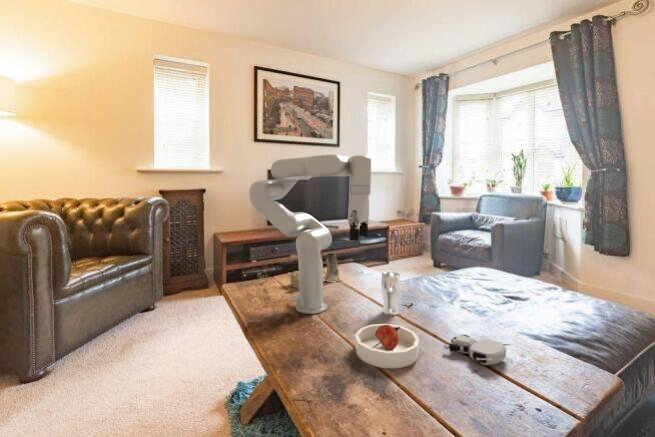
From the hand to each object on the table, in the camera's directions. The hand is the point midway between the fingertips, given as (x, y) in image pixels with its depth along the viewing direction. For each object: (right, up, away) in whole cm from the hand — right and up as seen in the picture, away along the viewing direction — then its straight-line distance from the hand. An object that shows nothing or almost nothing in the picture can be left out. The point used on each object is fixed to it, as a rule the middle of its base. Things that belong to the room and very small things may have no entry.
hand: (359, 238), depth 119 cm
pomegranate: (+6, -31, -22) cm, 39 cm away
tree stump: (-9, -25, +51) cm, 57 cm away
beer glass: (+13, -29, +7) cm, 33 cm away
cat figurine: (-26, -26, +40) cm, 55 cm away
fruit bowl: (+6, -32, -22) cm, 40 cm away
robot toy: (+31, -33, -25) cm, 52 cm away
